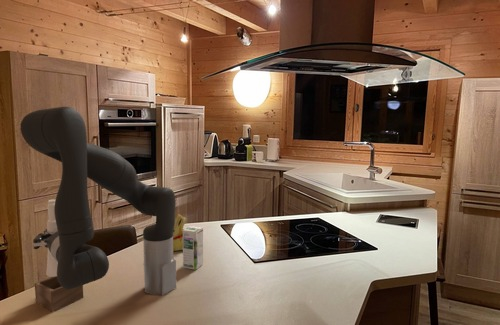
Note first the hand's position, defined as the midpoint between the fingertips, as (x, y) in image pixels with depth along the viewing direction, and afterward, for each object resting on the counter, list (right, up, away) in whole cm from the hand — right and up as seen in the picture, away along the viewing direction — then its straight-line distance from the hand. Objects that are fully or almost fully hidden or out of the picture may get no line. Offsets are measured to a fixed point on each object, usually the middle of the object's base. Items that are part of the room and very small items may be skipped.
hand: (54, 230), depth 106 cm
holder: (+1, -21, 0) cm, 21 cm away
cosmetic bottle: (+2, -12, -1) cm, 13 cm away
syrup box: (+37, -18, +26) cm, 49 cm away
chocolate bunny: (+29, -16, +41) cm, 53 cm away
